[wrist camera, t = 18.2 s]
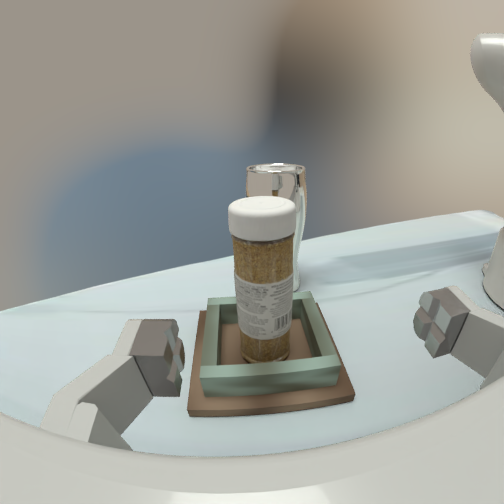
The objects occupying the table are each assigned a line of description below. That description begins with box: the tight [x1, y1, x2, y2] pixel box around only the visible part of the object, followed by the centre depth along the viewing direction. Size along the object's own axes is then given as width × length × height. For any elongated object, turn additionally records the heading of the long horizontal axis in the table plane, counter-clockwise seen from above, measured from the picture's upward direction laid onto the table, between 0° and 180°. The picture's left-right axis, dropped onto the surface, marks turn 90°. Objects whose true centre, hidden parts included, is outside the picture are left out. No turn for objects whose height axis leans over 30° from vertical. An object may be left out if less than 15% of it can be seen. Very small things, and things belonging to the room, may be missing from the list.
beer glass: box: [246, 164, 307, 292], centre depth 33 cm, size 7×7×15 cm
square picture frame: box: [187, 291, 355, 417], centre depth 24 cm, size 13×13×4 cm
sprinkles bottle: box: [228, 196, 296, 364], centre depth 21 cm, size 5×5×13 cm
